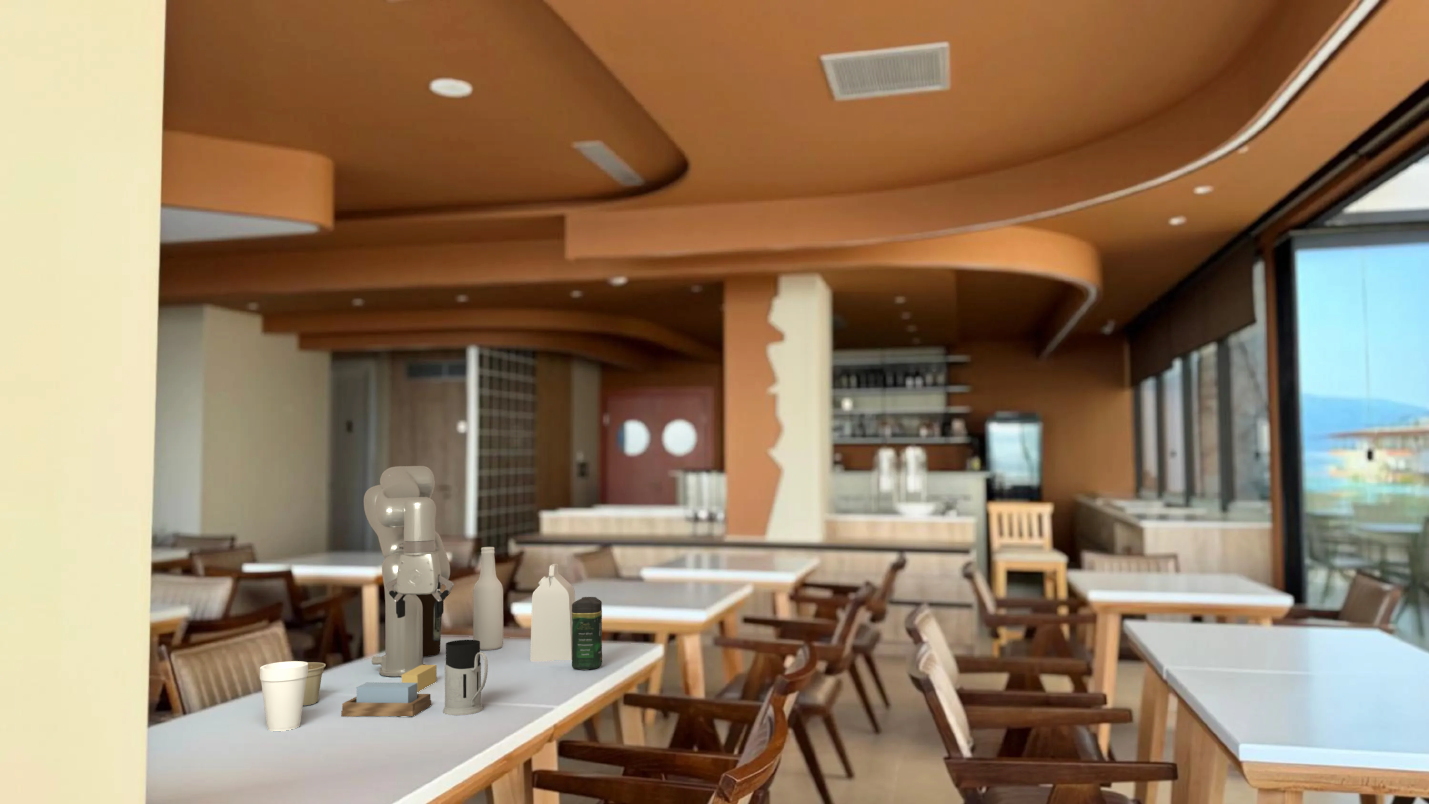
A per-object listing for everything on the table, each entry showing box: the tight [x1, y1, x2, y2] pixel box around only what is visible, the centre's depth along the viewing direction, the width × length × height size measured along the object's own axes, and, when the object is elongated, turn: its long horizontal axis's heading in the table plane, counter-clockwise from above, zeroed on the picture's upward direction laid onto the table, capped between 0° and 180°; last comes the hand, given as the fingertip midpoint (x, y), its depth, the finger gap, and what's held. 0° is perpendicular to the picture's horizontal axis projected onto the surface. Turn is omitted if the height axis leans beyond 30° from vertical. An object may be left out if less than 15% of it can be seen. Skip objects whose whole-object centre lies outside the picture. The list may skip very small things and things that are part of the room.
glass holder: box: [442, 639, 489, 716], centre depth 224 cm, size 9×14×15 cm, turn 45°
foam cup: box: [259, 660, 308, 732], centre depth 213 cm, size 10×9×13 cm
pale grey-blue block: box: [356, 681, 418, 703], centre depth 226 cm, size 12×5×4 cm, turn 83°
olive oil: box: [417, 594, 443, 658], centre depth 294 cm, size 11×11×25 cm
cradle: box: [340, 693, 432, 717], centre depth 226 cm, size 16×10×3 cm, turn 83°
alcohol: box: [472, 546, 504, 651], centre depth 303 cm, size 9×9×30 cm
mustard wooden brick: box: [401, 664, 438, 693], centre depth 250 cm, size 4×12×4 cm, turn 174°
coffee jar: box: [571, 596, 603, 671], centre depth 271 cm, size 10×8×19 cm
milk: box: [529, 563, 576, 662], centre depth 287 cm, size 12×12×26 cm
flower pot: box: [303, 661, 327, 706], centre depth 235 cm, size 9×9×9 cm
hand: (419, 617), depth 251 cm, fingers open, 9 cm apart
